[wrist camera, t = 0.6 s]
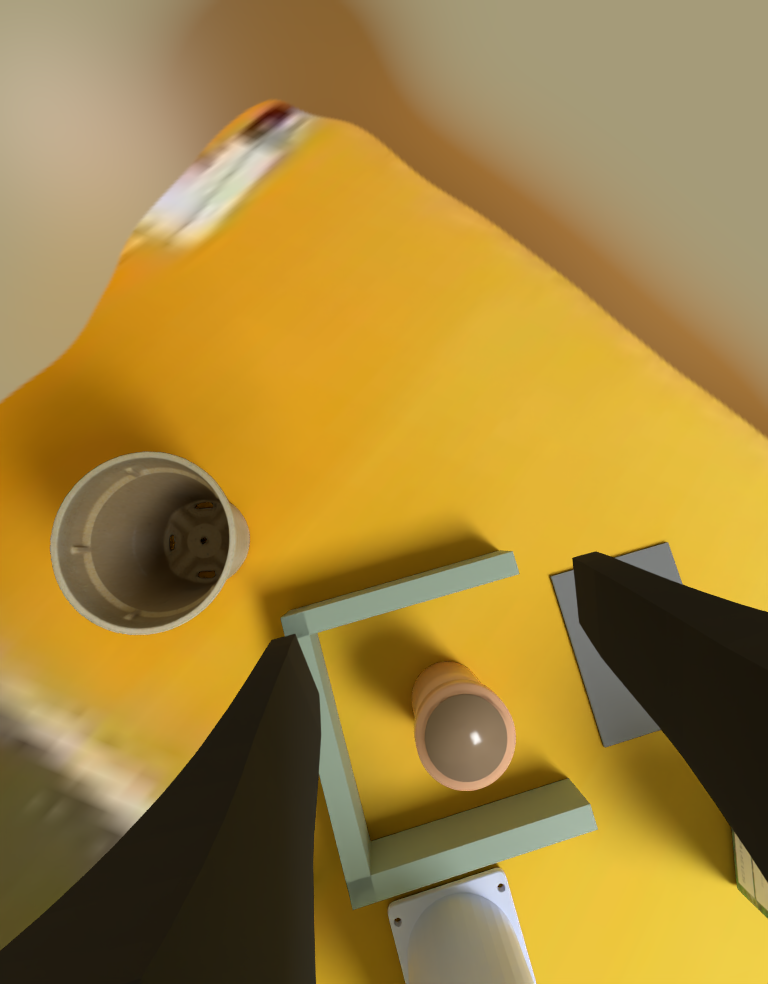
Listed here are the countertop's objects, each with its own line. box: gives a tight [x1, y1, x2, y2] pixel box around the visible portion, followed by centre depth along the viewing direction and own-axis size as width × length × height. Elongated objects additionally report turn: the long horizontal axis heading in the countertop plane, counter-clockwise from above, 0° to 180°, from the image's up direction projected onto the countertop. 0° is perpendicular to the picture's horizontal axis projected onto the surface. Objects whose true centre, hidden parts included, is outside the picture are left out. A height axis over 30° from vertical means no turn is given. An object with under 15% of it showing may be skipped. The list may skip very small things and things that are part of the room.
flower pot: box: [50, 452, 250, 635], centre depth 27 cm, size 9×9×9 cm
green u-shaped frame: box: [281, 551, 598, 910], centre depth 29 cm, size 18×16×3 cm
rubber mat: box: [550, 542, 682, 747], centre depth 31 cm, size 12×9×1 cm
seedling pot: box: [411, 661, 516, 791], centre depth 27 cm, size 6×6×6 cm
